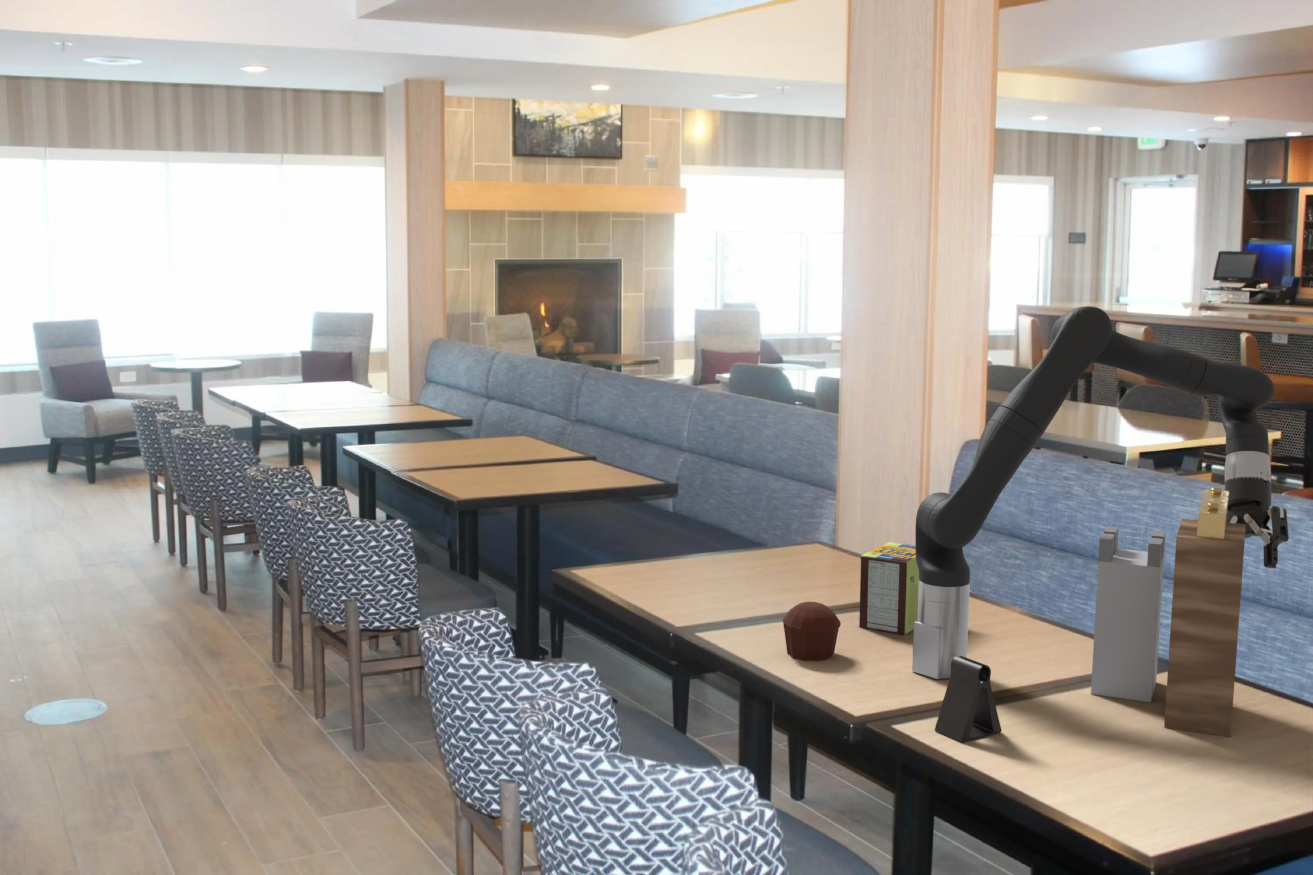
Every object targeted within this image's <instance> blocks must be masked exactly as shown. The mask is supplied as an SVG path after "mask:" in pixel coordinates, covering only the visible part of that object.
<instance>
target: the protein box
mask: <svg viewBox="0 0 1313 875" xmlns="http://www.w3.org/2000/svg"><path fill="white" fill-rule="evenodd" d="M859 579H860V583H859V584H860V585H859V624H858V627H859V628H862V629H867V630H874V631H879V632H885V633H886V632H887V633H891V634H897V635H898V634H899V635H903V636H905V635H907V634H909V633H910V632H912V631H914V622H916V621H917V615H918V589H919V570H918V566H917V563H916V544H915V545H914V544H906V543H898V542H892V541H889V542H886V543H884V544H883V545H880V546H877V547H876V548H874V549H872V550H870V551H868V552H867V551H866V552H865V553H864V554H861V555H860V578H859Z"/></svg>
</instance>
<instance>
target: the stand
mask: <svg viewBox="0 0 1313 875" xmlns="http://www.w3.org/2000/svg"><path fill="white" fill-rule="evenodd" d="M1197 528H1198V519H1189V518H1181V521H1180V524H1179V527H1178V531H1177V534H1176V538H1175V553H1174V554H1175V556H1174V568H1173V569H1174V570H1173V571H1174V572H1173V583H1172V584H1173V585H1172V586H1173V587H1172V602H1171V618H1170V630H1169V631H1170V632H1169V647H1168V664H1167V665H1168V666H1167V679H1166V680H1167V681H1166V694H1165V696H1166V697H1165V708H1164V728H1167V729H1172V730H1173V729H1174V730H1180V731H1186V732H1194V733H1200V734H1207V735H1215V736H1222V737H1228V738H1230V737H1232V721H1233V710H1234V709H1233V707H1234V696H1235V695H1234V694H1235V682H1236V680H1235V679H1236V666H1237V651H1238V636H1239V626H1240V625H1239V622H1240V611H1241V609H1240V608H1241V600H1242V598H1241V597H1242V596H1241V595H1242V583H1243V571H1244V570H1243V569H1244V556H1245V554H1244V553H1245V541H1246V540H1245V539H1246V538H1245V528H1246V524H1238V523H1226V529H1225V536H1224V540H1223V539H1212V538H1201V537H1197Z"/></svg>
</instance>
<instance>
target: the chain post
mask: <svg viewBox="0 0 1313 875" xmlns="http://www.w3.org/2000/svg"><path fill="white" fill-rule="evenodd" d="M1098 540H1099V543H1098V544H1099V545H1098V561H1097V562H1098V563H1097V574H1096V575H1097V577H1096V578H1097V580H1096V593H1095V594H1096V596H1095V597H1096V599H1095V611H1094V612H1095V614H1094V628H1093V629H1094V630H1093V650H1092V651H1093V652H1092V667H1091V668H1092V669H1091V685H1090V694H1091V695H1094V696H1095V695H1097V696H1103V697H1110V698H1116V699H1122V700H1123V699H1125V700H1131V701H1138V702H1139V701H1140V702H1146V703H1147V702H1148V703H1152V700H1153V697H1154V692H1155V689H1156V685H1157V676H1158V675H1157V674H1158V660H1159V642H1160V629H1161V627H1160V626H1161V612H1162V611H1161V610H1162V596H1163V584H1164V583H1163V581H1164V580H1163V579H1164V566H1165V565H1164V563H1165V548H1166V547H1165V546H1166V531H1165V530H1156V529H1155V530H1154V529H1153V531H1152V534H1151V537H1150V539H1149V541H1148V547H1147V551H1143V550H1135V549H1124V548H1123V549H1122V548H1118V543H1119V542H1118V541H1119V527H1118V526H1111V525H1110V526H1109V525H1106V526H1105V529H1104V530H1103V532H1102V534H1101V536H1100V537H1099V539H1098Z"/></svg>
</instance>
